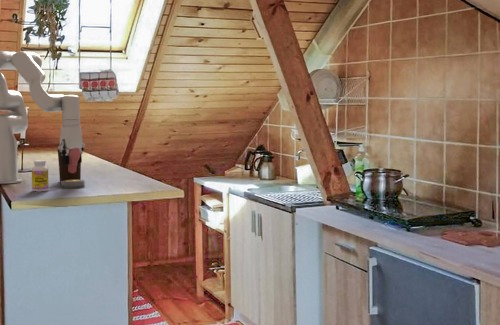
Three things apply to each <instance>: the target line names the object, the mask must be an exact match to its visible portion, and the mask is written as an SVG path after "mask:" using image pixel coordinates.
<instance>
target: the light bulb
mask: <svg viewBox="0 0 500 325" xmlns="http://www.w3.org/2000/svg"><path fill="white" fill-rule="evenodd" d="M65 152H66V151H65ZM80 155H81V153H80V150H79V149H78V148H74V149H71V150H69V153H68V156H69V165H68V166H69V168H68V172H70V173H75V172H76V170H77V169H76V168H77V167H76V166H77V163H78V161H79V158H80Z"/></svg>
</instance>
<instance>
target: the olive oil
mask: <svg viewBox="0 0 500 325" xmlns="http://www.w3.org/2000/svg"><path fill="white" fill-rule="evenodd" d="M59 145H60V142H59V143H58V146H59ZM58 146H57V147H58ZM57 159H58V172H59V182H60V183H61V181H64V180H73V179H76V180H82V178H81V174H82V173H81V170H82V165H81V164H82V163H77V166H76V167H77V168H76V169H77V170H76V172H75V173H70V172H68V168H69V166H68V165H63V156H62V155H61V153H60V151H59V149H58V148H57Z"/></svg>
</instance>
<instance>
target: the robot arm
mask: <svg viewBox="0 0 500 325" xmlns="http://www.w3.org/2000/svg"><path fill="white" fill-rule="evenodd" d="M42 65H43V61H42V58H41V56H40V55H39V54H38V53H35V52H33V51H32V52H31V51H9V50H8V51H7V50H0V112H5V113H0V185H4V184H5V185H6V184H17V183H21V182H23V179H22V178H19V165H18V164H19V163H18V162H19V161H18V159H19V158H18V142H17V138H16V137H15V134H21V133H24V132H26V131H27V129H28V128H29V120H28V112H27V108H26V104H25V101H24V97H23V96H22V94H21V92H19V91H18V90H13V89H12V90H11V89H10V90H9V87H8V83H7V80H6V77H5V76H4V74H3V73H2V72H1V70H4V71H5V70H6V71H17V73H18V74H19V75H20V76H21V77H22V78H23V79H24V81H25V82H26V84H28V91H29V95H30V97H31V99H32V101H33V102H34V104H36V106H38V108H39V109H41V110H42V111H43V112H46V113H47V112H48V113H54V112H57V113H59V112H61V116H62V117H61V119H62V121H61V124H62V126H61V128H60V131H59V132H60V134H59V143H60V145H59V144H58V145H59V146H57V150H58V149H59V151H60V153H61V155H62V156H63V165H69V156H68V153H69V150H71V149H74V148H78V149H79V150H80V153H81V155H80V158H79V161H78V163H81V164H82V161H83V160H82V155H83V152H84V149H85V147H86V143H85V142H84V141H83V131H82V127H81V126H82V125H81V106H80V104H81V101H80V97H79V95H75V94H68V95H67V94H65V95H64V94H53V93H52V94H49V93H48V92H47V91H46V90H45V88H44V87H43V85H42V84H43V83H44V81H45V79H46V73H45V72H44V71H43V70H42ZM7 112H8V113H7ZM65 151H66V152H65Z"/></svg>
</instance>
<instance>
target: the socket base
mask: <svg viewBox="0 0 500 325" xmlns="http://www.w3.org/2000/svg"><path fill="white" fill-rule="evenodd" d="M85 185H86V182H85V179H81V180H76V179H73V180H64V181H61V182H60V187H61V188H62V189H82V188H85Z"/></svg>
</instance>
